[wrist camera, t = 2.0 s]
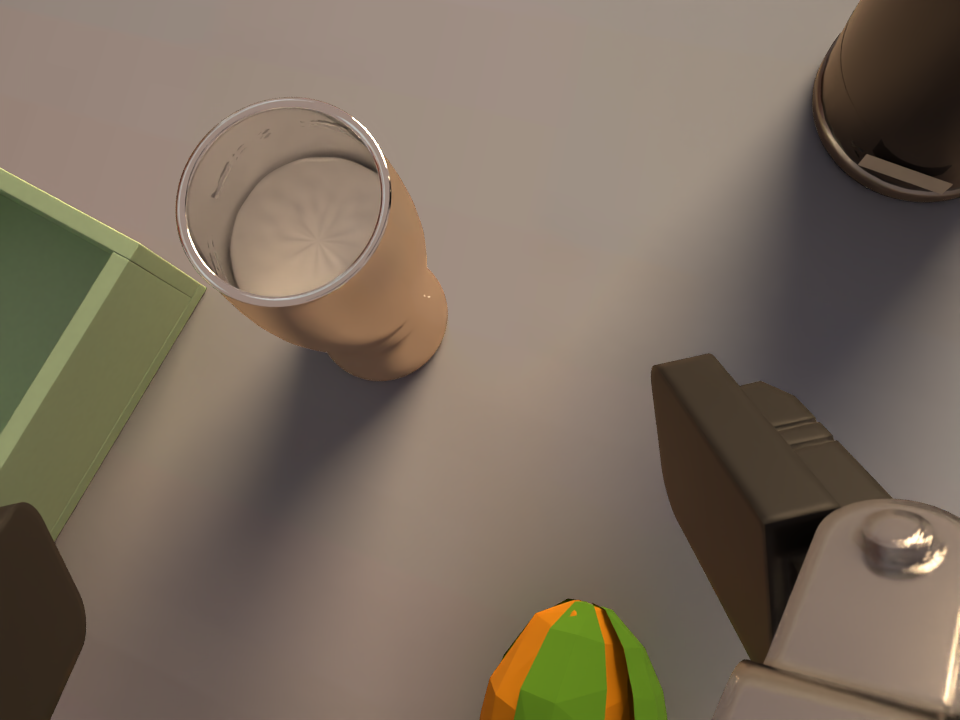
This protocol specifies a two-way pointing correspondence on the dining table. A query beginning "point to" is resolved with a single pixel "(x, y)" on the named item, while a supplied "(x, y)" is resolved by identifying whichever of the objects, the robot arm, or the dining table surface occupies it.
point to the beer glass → (313, 236)
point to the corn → (574, 670)
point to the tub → (74, 343)
